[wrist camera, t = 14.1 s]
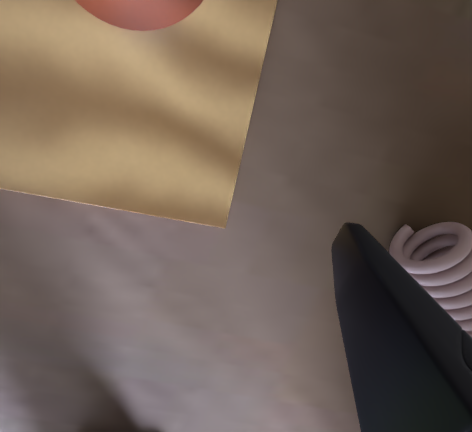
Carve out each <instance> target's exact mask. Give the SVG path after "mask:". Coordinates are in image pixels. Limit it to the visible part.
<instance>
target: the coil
mask: <svg viewBox="0 0 472 432" xmlns="http://www.w3.org/2000/svg"><path fill="white" fill-rule="evenodd" d="M413 233H414V231H413V230H412V229H411V228H410V227H409V226H408V225H406V224H405V225H404V226H403V227H401V228H400V229H399V231H398V232H397V233H396V234H395V236H394V237H393V239H392V242H391V244H390V249H389V253H390V255H391V256H392V257H393V258H394V259H395V260H396V261H397V262H398V263H399V264H400V265H401V266H402V267H403V268H404V269H405V270H406V271H407V272H408V273H409V274H410V275H411V276H412V277H413V278H414V279H415V280H416V281H417V282H418V283H419V284H420V285H421V286H422V287H423V288H424V289H425V290H426V291H427V292H428V293H429V294H430V295H431V296H432V298H433V299H434V300H435V301H436V302H437V303H438V304H439V305H440V306H441V307H442V308H443V309H444V310H445V311H446V312H447V313H448V314H449V315H450V316H451V317H452V318H453V319H454V320H455V321H456V322H457V323H458V324H459V325H460V326H461V327H462V330H465V331H466V332H467V333H468V334H469V335H470V336H471V337H472V231H471V230H470V229H469V228H468V227H466V226H465V225H463V224H460V223H457V222H443V223H437V224H433V225H430V226H428V227H425V228H423V229H421V230H419V231H418V232H416V233H415V234H413ZM412 234H413V235H412ZM443 234H446V235H443ZM411 235H412V236H411ZM439 235H441V236H439ZM410 236H411V237H410ZM436 236H438V237H436ZM409 237H410V238H409ZM433 237H435V238H433ZM408 238H409V239H408ZM431 238H432V239H431ZM407 239H408V240H407ZM428 239H430V240H428ZM427 240H428V241H427ZM425 241H426V242H425ZM423 242H425V243H423ZM422 243H423V244H422ZM421 244H422V245H421ZM419 245H420V246H419ZM418 246H419V247H418ZM446 246H448V247H446ZM417 247H418V248H417ZM443 247H444V248H443ZM416 248H417V249H416ZM440 248H441V249H440ZM437 249H439V250H437ZM435 250H437V251H435ZM433 251H434V252H433ZM432 252H433V253H432ZM430 253H431V254H430ZM427 255H428V256H427Z"/></svg>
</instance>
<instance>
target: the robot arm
mask: <svg viewBox="0 0 472 432" xmlns="http://www.w3.org/2000/svg"><path fill="white" fill-rule="evenodd" d="M332 262H333V275H334V288H335V299H336V306H337V311H338V316H339V321H340V327H341V332H342V337H343V342H344V347H345V352H346V357H347V362H348V367H349V372H350V377H351V383H352V388H353V393H354V398H355V403H356V408H357V413H358V418H359V423H360V428H361V432H472V337H471V336H470V335H469V334H468V333H467V332H466V331H465V330H462V327H461V326H460V325H459V324H458V323H457V322H456V321H455V320H454V319H453V318H452V317H451V316H450V315H449V314H448V313H447V312H446V311H445V310H444V309H443V308H442V307H441V306H440V305H439V304H438V303H437V302H436V301H435V300H434V299H433V298H432V296H431V295H430V294H429V293H428V292H427V291H426V290H425V289H424V288H423V287H422V286H421V285H420V284H419V283H418V282H417V281H416V280H415V279H414V278H413V277H412V276H411V275H410V274H409V273H408V272H407V271H406V270H405V269H404V268H403V267H402V266H401V265H400V264H399V263H398V262H397V261H396V260H395V259H394V258H393V257H392V256H391V255H390V254H389V253H388V252H387V251H386V250H385V249H384V247H383V246H382V245H381V244H380V243H379V242H378V241H377V240H376V239H375V238H374V237H373V236H372V235H371V234H370V233H369V232H368V231H367V230H366V229H365V228H364V227H363V226H362V225H360V224H355V223H345V224H343V226H342V227H341V229H340V231H339V233H338V234H337V236H336V238H335V240H334V241H333V244H332Z"/></svg>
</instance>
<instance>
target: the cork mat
mask: <svg viewBox="0 0 472 432" xmlns="http://www.w3.org/2000/svg"><path fill="white" fill-rule="evenodd" d="M276 5H277V0H0V189H4V190H9V191H15V192H21V193H26V194H32V195H38V196H43V197H49V198H55V199H60V200H66V201H72V202H77V203H83V204H89V205H94V206H100V207H106V208H111V209H117V210H123V211H128V212H134V213H140V214H145V215H151V216H157V217H162V218H168V219H174V220H179V221H185V222H191V223H197V224H202V225H208V226H214V227H219V228H226V223H227V219H228V215H229V210H230V206H231V202H232V197H233V193H234V188H235V184H236V180H237V175H238V171H239V167H240V162H241V158H242V153H243V149H244V145H245V140H246V136H247V132H248V127H249V123H250V118H251V114H252V110H253V105H254V101H255V97H256V92H257V88H258V83H259V79H260V75H261V70H262V66H263V62H264V57H265V53H266V48H267V44H268V40H269V35H270V31H271V27H272V22H273V18H274V14H275V9H276Z"/></svg>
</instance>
